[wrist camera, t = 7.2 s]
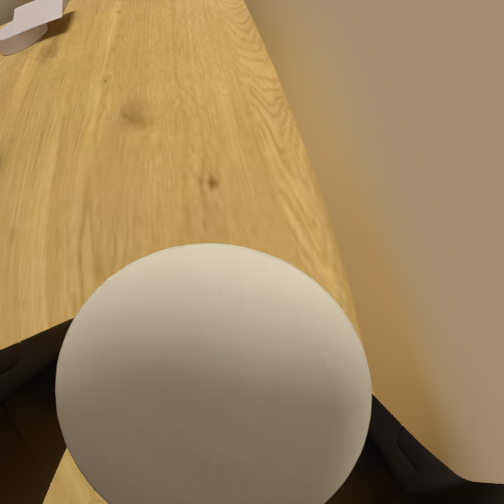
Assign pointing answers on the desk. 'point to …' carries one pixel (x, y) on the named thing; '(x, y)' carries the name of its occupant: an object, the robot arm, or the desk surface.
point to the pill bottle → (213, 382)
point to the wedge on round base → (29, 24)
